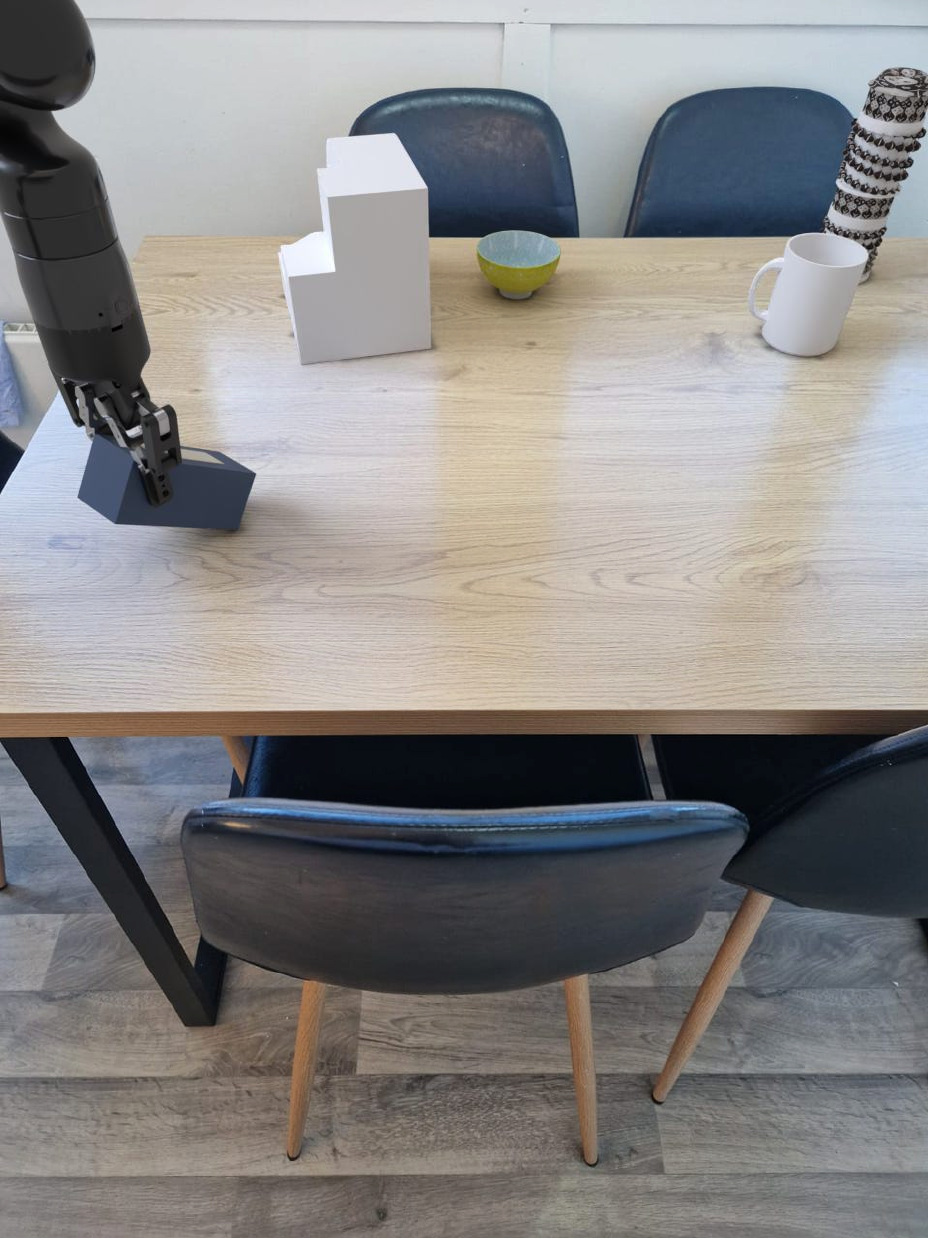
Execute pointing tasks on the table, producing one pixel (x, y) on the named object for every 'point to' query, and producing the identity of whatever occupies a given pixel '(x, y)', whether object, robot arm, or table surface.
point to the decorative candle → (878, 158)
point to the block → (362, 256)
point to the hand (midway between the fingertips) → (139, 486)
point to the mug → (810, 293)
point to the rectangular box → (200, 484)
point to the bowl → (518, 261)
